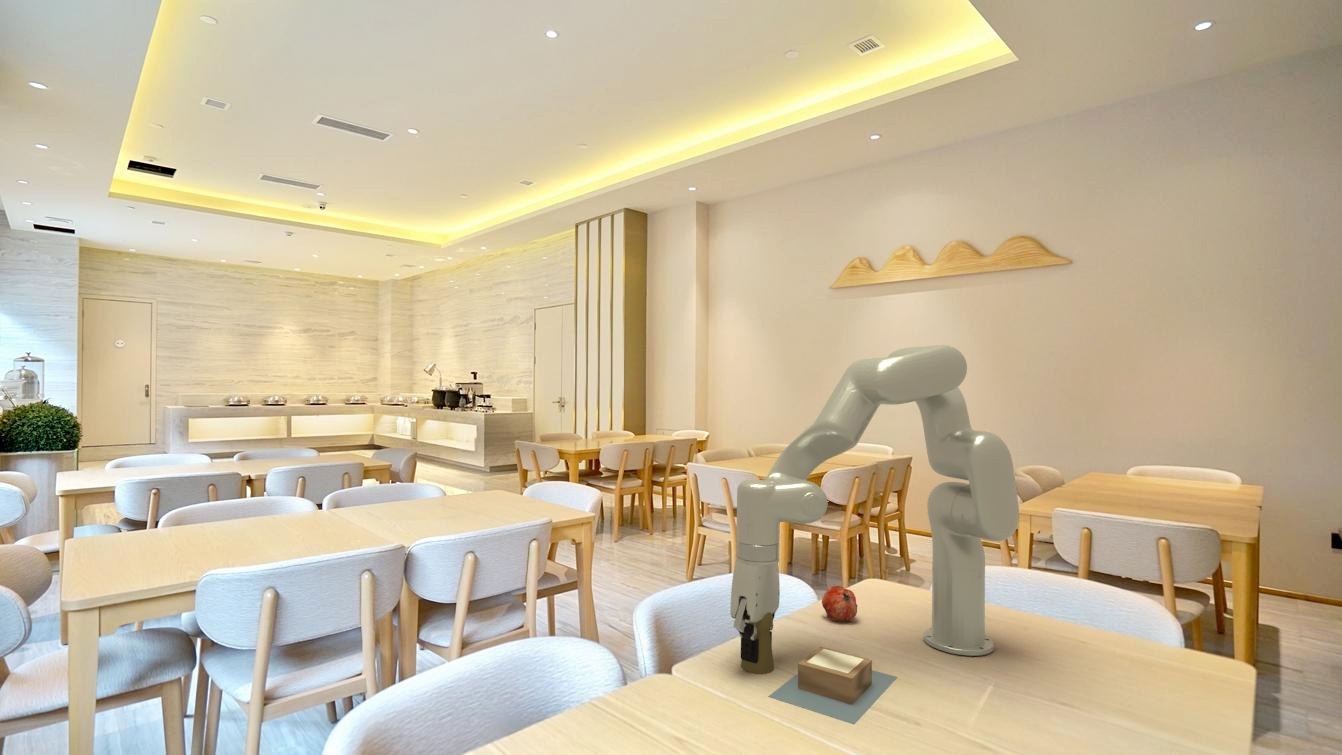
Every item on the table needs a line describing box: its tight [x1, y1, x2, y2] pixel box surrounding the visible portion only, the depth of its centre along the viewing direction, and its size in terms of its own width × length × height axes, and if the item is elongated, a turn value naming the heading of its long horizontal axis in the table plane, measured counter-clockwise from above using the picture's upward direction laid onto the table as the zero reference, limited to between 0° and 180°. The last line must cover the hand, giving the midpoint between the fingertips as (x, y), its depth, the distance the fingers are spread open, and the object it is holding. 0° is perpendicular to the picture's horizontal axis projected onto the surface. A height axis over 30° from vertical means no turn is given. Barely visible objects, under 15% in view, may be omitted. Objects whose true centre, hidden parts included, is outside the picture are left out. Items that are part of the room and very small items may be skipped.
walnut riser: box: [797, 646, 873, 705], centre depth 107 cm, size 9×9×4 cm
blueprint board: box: [767, 669, 898, 725], centre depth 107 cm, size 20×14×1 cm
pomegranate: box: [821, 585, 858, 622], centre depth 143 cm, size 7×7×10 cm
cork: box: [740, 612, 775, 675], centre depth 115 cm, size 6×6×11 cm
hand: (756, 655), depth 115 cm, fingers closed on cork, 4 cm apart
